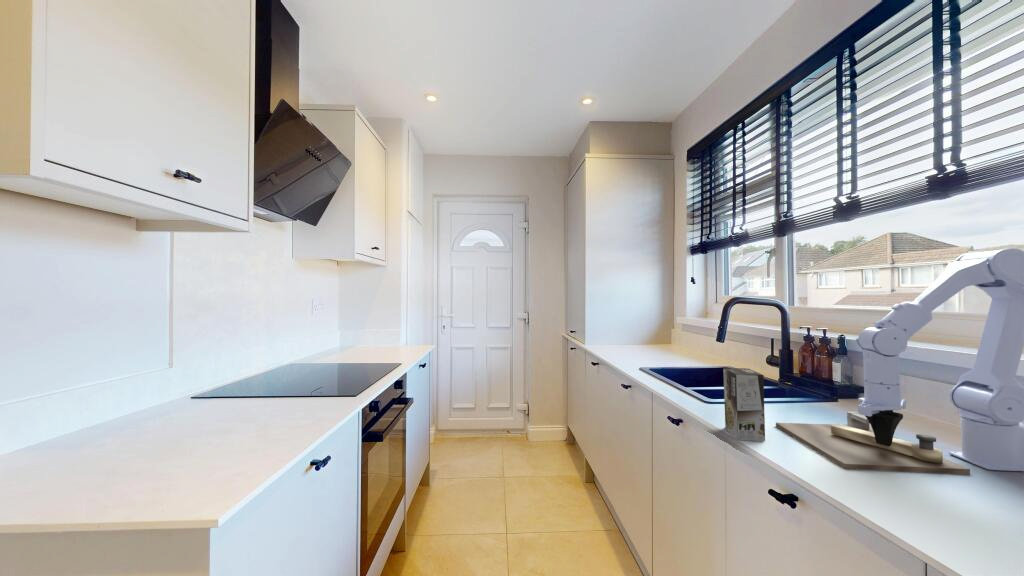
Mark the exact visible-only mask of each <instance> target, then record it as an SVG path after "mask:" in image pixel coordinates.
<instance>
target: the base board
mask: <svg viewBox="0 0 1024 576" xmlns="http://www.w3.org/2000/svg"><path fill="white" fill-rule="evenodd" d="M846 419H847V423H846V424H844V425H845V426H849V427H853V428H857V429H861V430H865V431H869V432H873V429H872V427H871V424H870V423H869V421H868V419H867V418H866V416H865V415H861V414H858V411H846ZM831 425H835V424H832V423H831V424H830V423H829V424H828V423H798V422H797V423H796V422H794V423H793V422H775V428H778V429H780V430H781V431H782V432H785V433H786V434H787V435H789V436H791V437H793V438H794V439H795V440H797V441H799V442H800V443H803V444H804V445H806V446H807V447H808V448H810V449H812V450H814V451H815V452H817V453H818V454H820V455H821V456H823V457H825V458H827V459H828V460H830V461H831V462H833V463H835V464H836V465H838V466H839V467H841V468H842V469H846V470H868V471H887V472H889V471H890V472H891V471H892V472H909V473H910V472H913V473H914V472H915V473H929V474H930V473H932V474H933V473H934V474H936V473H937V474H951V475H952V474H955V475H956V474H957V475H971V469H970V468H968V467H966V466H963V465H961V464H959V463H957V462H955V461H951V460H949V459H947V458H945V457H943V462H940V463H936V462H929V461H924V460H920V459H917V458H915V457H913V456H910V455H906V454H902V453H899V452H895V451H892V450H888V449H884V448H881V447H877V446H873V445H870V444H866V443H863V442H859V441H855V440H852V439H848V438H844V437H841V436H837V435H834V434H831ZM873 433H874V432H873ZM893 438H896V439H899V438H898V437H896V436H893Z"/></svg>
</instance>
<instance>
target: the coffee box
mask: <svg viewBox="0 0 1024 576" xmlns="http://www.w3.org/2000/svg"><path fill="white" fill-rule="evenodd" d="M764 377H765V375H764V374H762V373H760V372H757V371H755V370H753V369H750V368H748V367H747V368H743V367H742V368H741V367H739V368H738V367H737V368H736V367H734V368H723V395H724V396H723V398H724V400H723V401H724V423H725V424H724V425H725V426H724V427H725V428H724V429H726V430H727V431H728V432H729V433H730V434H731V435H732V436H733V437H735V439H737V440H738V441H750V442H752V441H753V442H762V441H763V442H765V441H766V419H765V417H766V416H765V384H764V383H765V382H764Z"/></svg>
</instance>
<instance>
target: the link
mask: <svg viewBox="0 0 1024 576" xmlns="http://www.w3.org/2000/svg"><path fill="white" fill-rule="evenodd" d="M845 425H846V424H840V423H836V424H835V425H831V434H834V435H837V436H841V437H844V438H848V439H852V440H855V441H859V442H863V443H866V444H870V445H873V446H877V447H881V448H884V449H888V450H892V451H895V452H899V453H902V454H906V455H910V456H913V457H915V458H917V459H920V460H924V461H929V462H936V463H940V462H943V458H944V456H943V455H944V454H943V453H944V452H943V450H942V449H940V448H938V447H935V446H934V443H936V442H937V437H935V436H934V435H933V436H932V435H929V434H925V433H924V434H922V433H916V434H915V438H916V439H917V440H918V443H916V442H912V441H907V440H903V439H899V438H898V439H896V438H897V437H896V438H893V440H892V444H891V446H889V447H888V446H885V445H881V444H878V443H876V440H875V435H874V433H873V432H869V431H865V430H861V429H857V428H853V427H849V426H845Z"/></svg>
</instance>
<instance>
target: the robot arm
mask: <svg viewBox="0 0 1024 576" xmlns="http://www.w3.org/2000/svg"><path fill="white" fill-rule="evenodd" d="M969 286H970V287H971V286H974V287H975V288H977V289H979V290H981V291H983V292H984V293H985V294H987V295H988V296H989V297H990V298H991V302H990V306H989V309H988V313H987V316H986V320H985V324H984V327H983V331H982V334H981V338H980V342H979V346H978V349H977V352H976V356H975V360H974V364H973V366H972V369H971V370H969V371H967V372H964V373H963V374H961V375H960V376H959V379H958V382H957V383H956V385H954V386H953V387H951V389H950V391H949V400H950V403H951V404H952V405H953V406H954V407H955V408H957V410H958V411H957V412H958V414H959V415H960V434H961V435H960V437H961V439H960V440H961V451H948V454H950V455H952V456H954V457H956V458H959V459H961V460H964V461H967V462H968V463H971V464H974V465H976V466H978V467H980V468H982V469H985V470H991V471H1007V472H1008V471H1009V472H1010V471H1012V472H1024V422H1023V421H1024V386H1023V385H1022V384H1021V383H1020V381H1018V380H1017V379H1016V375H1017V373H1018V369H1019V365H1020V362H1021V358H1022V354H1023V351H1024V250H1022V249H1019V248H1015V247H1013V248H1011V247H1009V248H1004V249H999V250H998V249H997V250H992V251H991V250H990V251H982V252H967V253H963V254H961V255H959V256H958V257H956V259H955V260H954V261H952V262H951V263H949V264H948V265H946V268H945V270H944V272H943V273H942V274H941V275H940V276H938V277H937V278H936V280H934V281H933V282H932V283H931V284H930V285H928V287H927V288H926V289H925V290H923V292H921V294H919V296H917V297H916V298H915V299H914V300H913V301H902V302H900V303H894V305H893V306H891V308H890V309H892V310H891V311H890V312H889V313H888V314H886V315H885V316H884V317H883V318H881V319H880V320H876V321H875V322H874V324H873V325H874V326H873V327H866V328H864V329H863V330H861V332H859V334H858V337H857V338H856V339H855V342H856V345H857V347H858V348H859V349H860V350H861V351H862V357H863V362H862V364H863V391H864V392H863V393H864V394H863V395H864V397H859V398H858V399H857V400H858V401H857V402H859V403H861V404H858V405H857V412H858V414H861V415H865V416H866V418H867V419H868V421H869V423H870V424H869V425H870V427H872V429H873V432H874V435H875V440H876V443H878V444H881V445H885V446H888V447H889V446H891V444H892V440H893V437H894V435H895V432H896V429H897V427H898V425H899V424H900V422H901V421H902V420H903V419H904V414H903V413H900V412H897V411H900V410H905V409H906V407H907V405H906V404H907V403H906V399H904V398H903V399H902V397H901V396H902V394H901V393H902V392H901V371H900V354H901V353H903V352H905V351H906V349H907V347H908V341H909V340H910V339H911V337H913V336H914V335H916V333H918V332H919V331H920V330H921V329H923V328H924V327H925V326H926V325H928V324H930V322H931V321H932V320H933V314H932V312H933V311H935V309H937V308H938V307H940V306H941V305H943V304H945V302H947V301H949V300H950V299H951V298H952V297H954V296H955V295H957V294H958V293H959V292H961V291H963V290H964V289H965V288H967V287H969ZM990 387H991V388H990ZM1022 422H1023V423H1022Z"/></svg>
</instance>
